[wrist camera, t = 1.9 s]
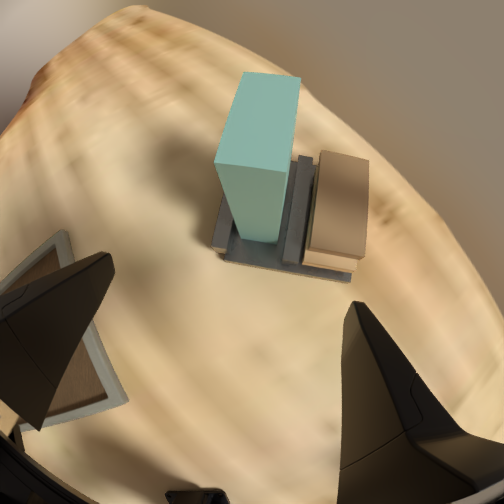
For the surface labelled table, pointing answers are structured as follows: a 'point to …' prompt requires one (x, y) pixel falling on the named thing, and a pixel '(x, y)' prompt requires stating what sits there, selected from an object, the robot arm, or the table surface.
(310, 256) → the offcut middle
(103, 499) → the table surface
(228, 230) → the rack
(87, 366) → the picture frame
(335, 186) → the offcut top
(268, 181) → the teal rectangular block
